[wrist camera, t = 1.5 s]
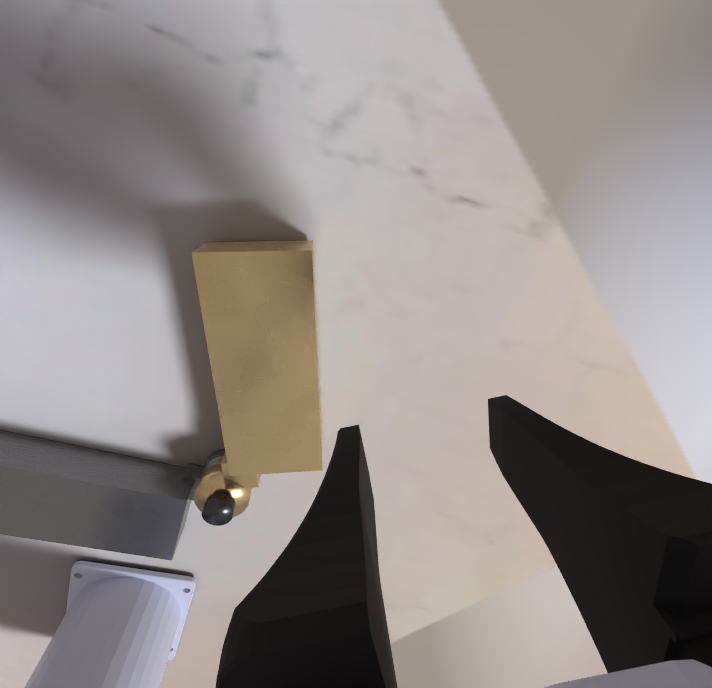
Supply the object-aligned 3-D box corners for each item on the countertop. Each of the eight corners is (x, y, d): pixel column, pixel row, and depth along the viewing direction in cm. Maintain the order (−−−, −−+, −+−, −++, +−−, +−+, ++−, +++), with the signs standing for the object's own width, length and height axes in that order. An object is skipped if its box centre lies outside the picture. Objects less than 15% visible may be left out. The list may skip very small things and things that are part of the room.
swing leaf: (208, 491, 25) (197, 523, 23) (157, 243, 19) (136, 253, 16) (323, 484, 25) (324, 514, 23) (312, 240, 19) (312, 250, 17)
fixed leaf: (233, 536, 27) (222, 587, 24) (-24, 491, 24) (-78, 544, 20) (260, 454, 24) (251, 499, 21) (-24, 392, 21) (-87, 434, 18)
